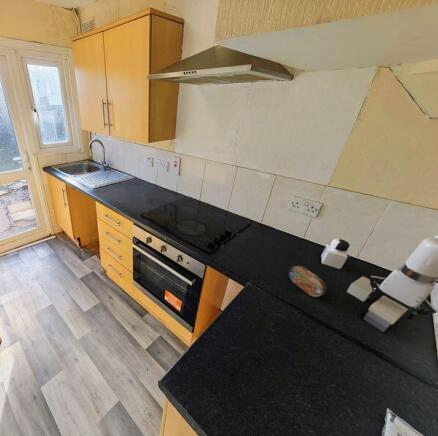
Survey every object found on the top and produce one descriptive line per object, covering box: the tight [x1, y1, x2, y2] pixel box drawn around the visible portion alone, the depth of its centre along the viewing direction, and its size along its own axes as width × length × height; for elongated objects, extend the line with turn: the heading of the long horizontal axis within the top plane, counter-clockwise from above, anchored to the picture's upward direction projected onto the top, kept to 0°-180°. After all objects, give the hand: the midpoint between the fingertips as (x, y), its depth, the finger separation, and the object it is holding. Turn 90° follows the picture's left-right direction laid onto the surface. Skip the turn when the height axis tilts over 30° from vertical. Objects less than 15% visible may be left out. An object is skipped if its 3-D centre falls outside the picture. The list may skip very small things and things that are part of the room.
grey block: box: [362, 310, 392, 333], centre depth 84 cm, size 6×10×5 cm, turn 118°
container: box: [320, 238, 351, 270], centre depth 111 cm, size 8×8×13 cm
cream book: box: [368, 295, 409, 326], centre depth 82 cm, size 7×10×2 cm
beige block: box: [346, 276, 381, 303], centre depth 96 cm, size 6×10×5 cm, turn 118°
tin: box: [288, 265, 327, 298], centre depth 97 cm, size 15×3×8 cm, turn 21°
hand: (387, 308), depth 82 cm, fingers open, 9 cm apart
